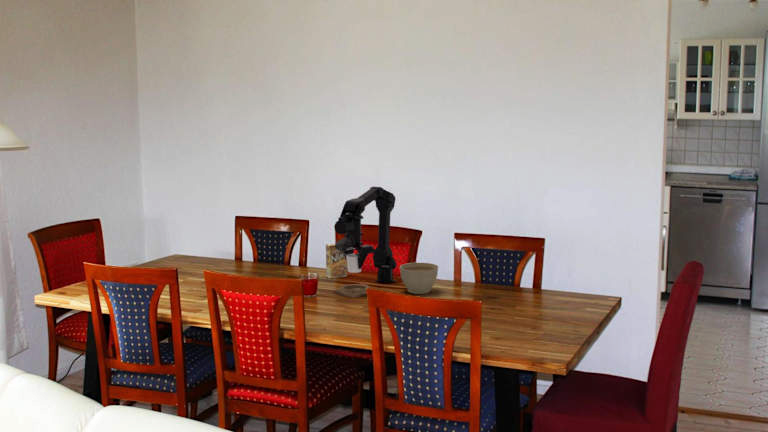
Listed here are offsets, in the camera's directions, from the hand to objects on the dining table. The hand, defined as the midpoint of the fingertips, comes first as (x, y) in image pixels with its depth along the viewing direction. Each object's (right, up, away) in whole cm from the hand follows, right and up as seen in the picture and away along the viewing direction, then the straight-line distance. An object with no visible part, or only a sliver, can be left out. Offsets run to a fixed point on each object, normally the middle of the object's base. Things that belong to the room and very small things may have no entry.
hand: (354, 267), depth 341 cm
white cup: (0, -2, 0) cm, 2 cm away
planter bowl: (+27, -11, +3) cm, 29 cm away
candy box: (-9, -7, +32) cm, 34 cm away
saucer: (0, -11, +1) cm, 11 cm away
